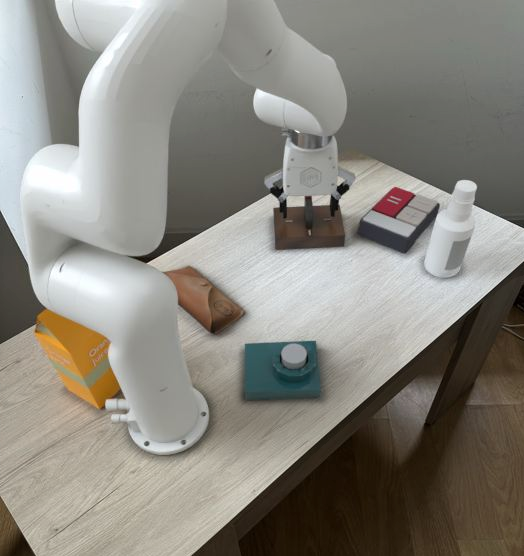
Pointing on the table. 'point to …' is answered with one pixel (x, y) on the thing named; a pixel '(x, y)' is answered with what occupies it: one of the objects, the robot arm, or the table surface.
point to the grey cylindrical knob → (294, 356)
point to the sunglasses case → (204, 300)
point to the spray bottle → (452, 232)
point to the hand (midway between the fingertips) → (308, 213)
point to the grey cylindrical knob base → (280, 372)
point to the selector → (297, 236)
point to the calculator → (398, 219)
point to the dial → (308, 211)
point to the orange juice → (78, 357)
